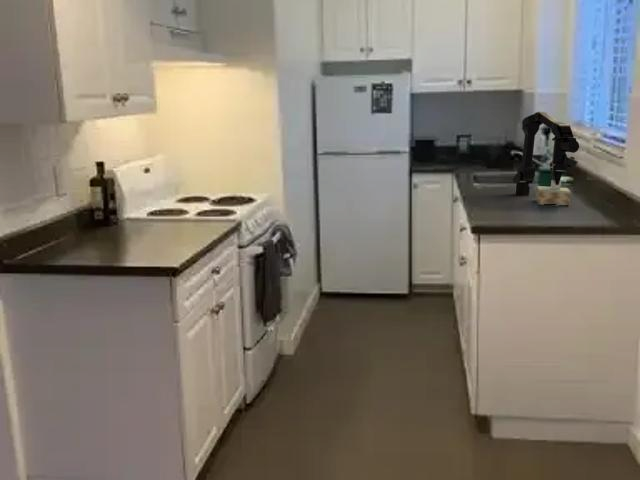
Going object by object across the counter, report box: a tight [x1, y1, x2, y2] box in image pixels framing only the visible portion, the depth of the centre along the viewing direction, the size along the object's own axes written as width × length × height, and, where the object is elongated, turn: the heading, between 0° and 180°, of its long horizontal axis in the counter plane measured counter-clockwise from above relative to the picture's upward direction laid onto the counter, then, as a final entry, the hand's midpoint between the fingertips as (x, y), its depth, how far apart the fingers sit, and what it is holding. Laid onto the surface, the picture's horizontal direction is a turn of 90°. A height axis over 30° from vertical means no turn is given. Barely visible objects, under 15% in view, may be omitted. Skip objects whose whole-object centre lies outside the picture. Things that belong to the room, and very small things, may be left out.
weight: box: [550, 179, 562, 190], centre depth 330 cm, size 4×4×4 cm
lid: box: [536, 185, 571, 193], centre depth 330 cm, size 14×14×1 cm
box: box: [535, 187, 571, 205], centre depth 331 cm, size 14×14×6 cm
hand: (556, 183), depth 330 cm, fingers open, 9 cm apart
